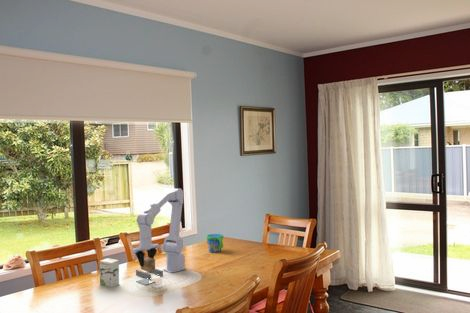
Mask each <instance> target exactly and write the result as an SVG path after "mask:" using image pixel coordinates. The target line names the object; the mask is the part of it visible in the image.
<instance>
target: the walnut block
mask: <svg viewBox="0 0 470 313" xmlns="http://www.w3.org/2000/svg"><path fill="white" fill-rule="evenodd" d="M140 269H141V271H144V272H147V271H151V270H155V269H156V259H155V258H154V259H153V258H150V257H148V256H147V257H144V266H143V267H142V266H140Z"/></svg>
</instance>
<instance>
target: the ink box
mask: <svg viewBox="0 0 470 313" xmlns="http://www.w3.org/2000/svg"><path fill="white" fill-rule="evenodd" d="M119 261H120V260H118V259H114V258H109V257H108V258H104V259H100V260H99V284H100V285H102V286H107V287H111V288H112V287H115V286H117V285H119V284H120V262H119Z"/></svg>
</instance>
